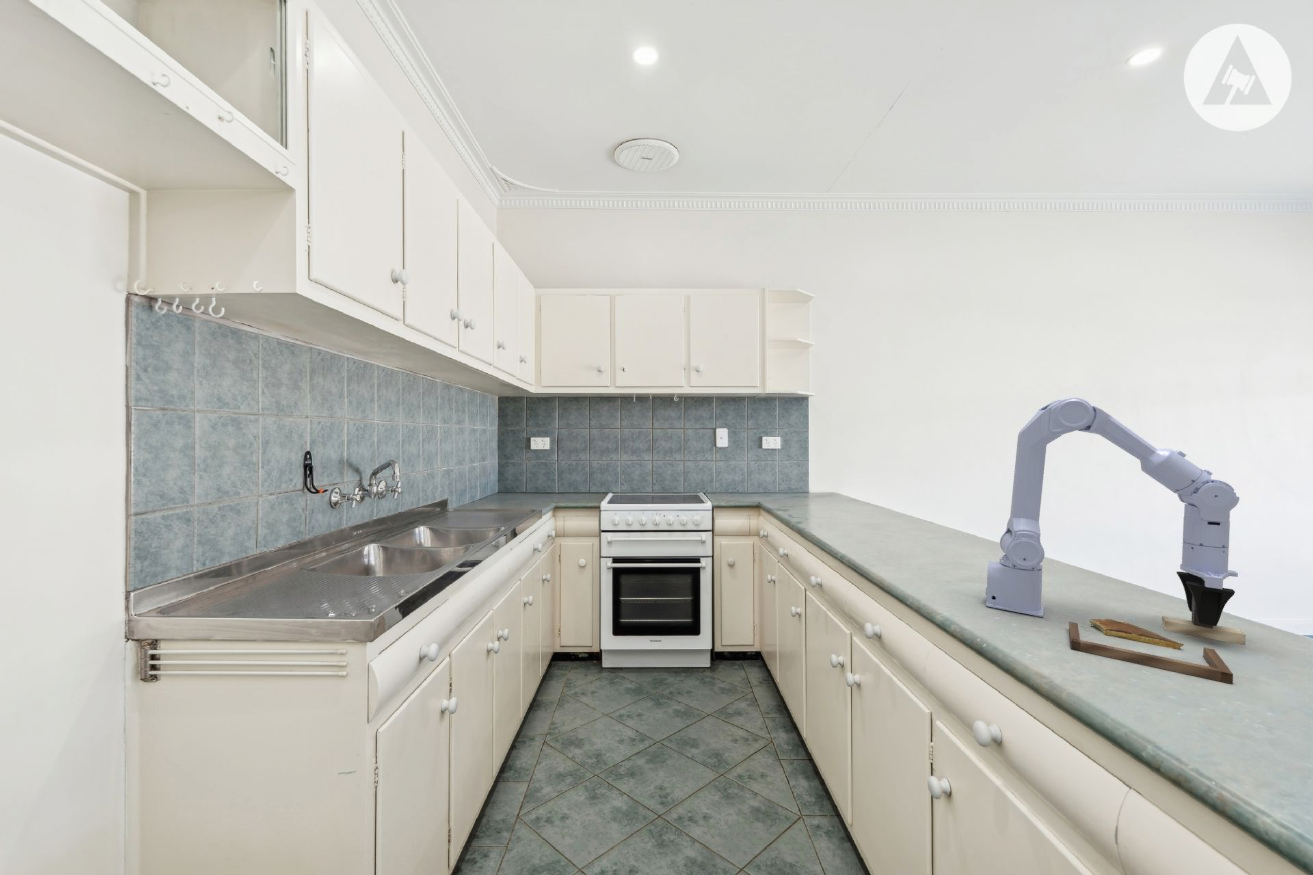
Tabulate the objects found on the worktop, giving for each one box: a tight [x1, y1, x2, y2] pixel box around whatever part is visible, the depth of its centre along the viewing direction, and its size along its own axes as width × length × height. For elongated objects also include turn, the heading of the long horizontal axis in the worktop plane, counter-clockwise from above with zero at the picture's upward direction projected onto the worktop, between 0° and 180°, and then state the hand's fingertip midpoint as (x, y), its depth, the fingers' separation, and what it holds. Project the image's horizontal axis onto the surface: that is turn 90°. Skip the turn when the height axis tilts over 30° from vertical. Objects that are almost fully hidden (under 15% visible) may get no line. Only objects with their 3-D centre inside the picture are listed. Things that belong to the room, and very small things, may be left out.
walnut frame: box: [1068, 621, 1234, 685], centre depth 84 cm, size 18×11×2 cm, turn 52°
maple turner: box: [1161, 595, 1247, 646], centre depth 93 cm, size 10×3×7 cm, turn 52°
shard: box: [1089, 618, 1185, 650], centre depth 91 cm, size 11×8×2 cm
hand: (1202, 618), depth 93 cm, fingers open, 7 cm apart
